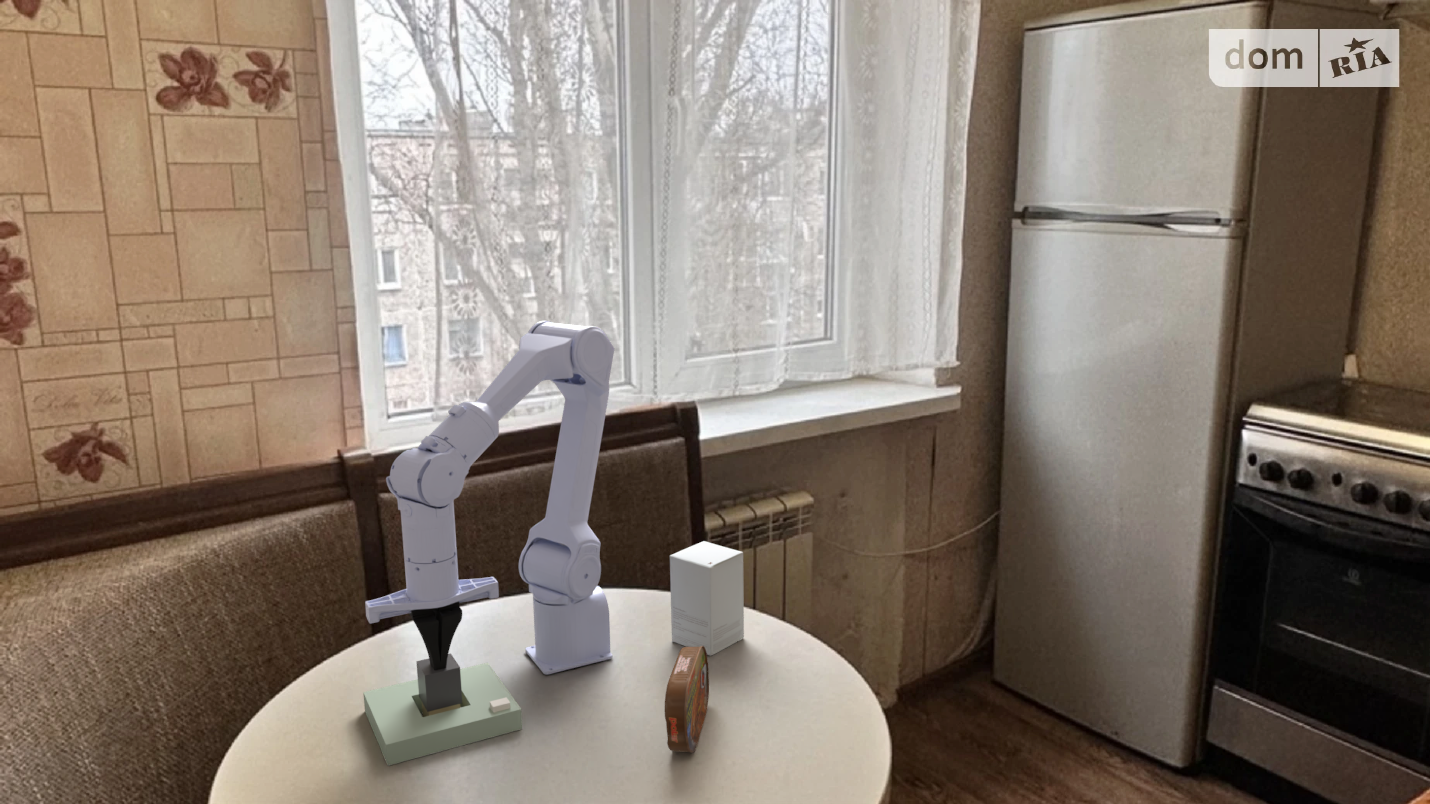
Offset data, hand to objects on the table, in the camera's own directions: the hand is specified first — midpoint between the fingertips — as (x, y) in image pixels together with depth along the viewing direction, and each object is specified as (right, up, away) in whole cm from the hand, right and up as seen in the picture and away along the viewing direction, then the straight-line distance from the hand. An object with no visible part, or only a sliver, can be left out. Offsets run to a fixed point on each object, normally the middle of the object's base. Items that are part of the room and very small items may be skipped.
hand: (438, 666), depth 115 cm
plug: (0, -7, +2) cm, 7 cm away
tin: (+29, -7, -1) cm, 30 cm away
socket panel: (0, -7, +1) cm, 7 cm away
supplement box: (+31, -2, +22) cm, 38 cm away
